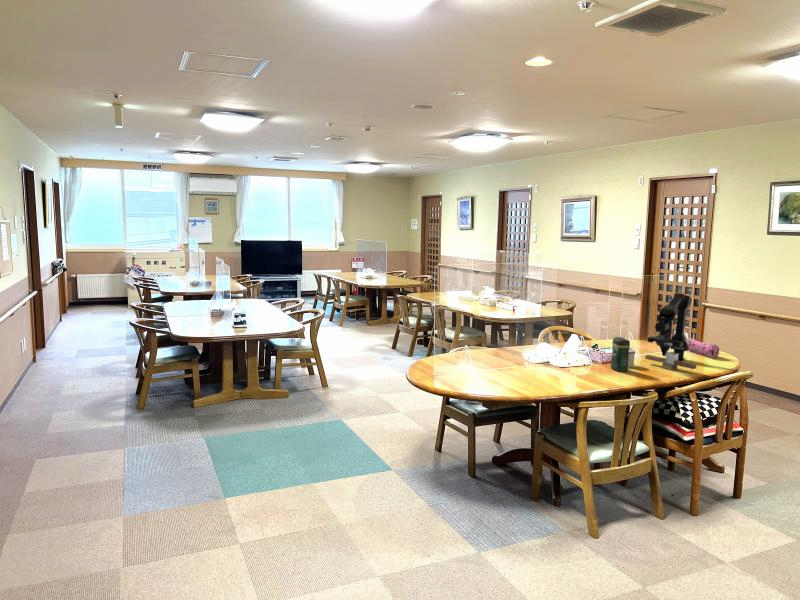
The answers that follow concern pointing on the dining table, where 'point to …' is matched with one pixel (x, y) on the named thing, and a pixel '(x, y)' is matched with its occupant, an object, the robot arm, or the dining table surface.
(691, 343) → the pencil case
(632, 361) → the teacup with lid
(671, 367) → the beam
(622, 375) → the dining table surface
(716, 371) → the dining table surface
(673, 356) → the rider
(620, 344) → the coffee jar
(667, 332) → the robot arm
